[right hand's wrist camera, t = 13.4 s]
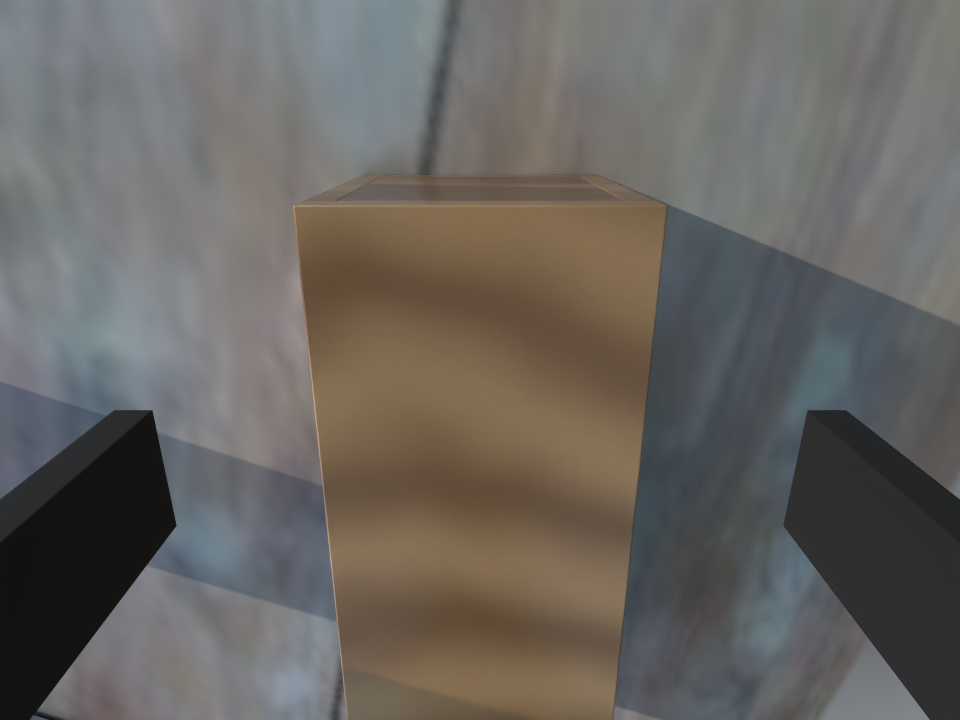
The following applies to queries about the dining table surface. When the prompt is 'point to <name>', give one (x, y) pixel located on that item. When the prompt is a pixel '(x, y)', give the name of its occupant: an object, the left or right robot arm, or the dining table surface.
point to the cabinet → (480, 434)
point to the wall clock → (37, 718)
